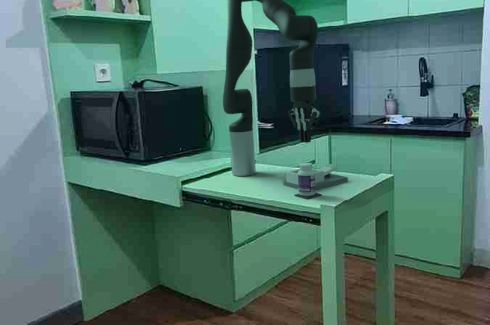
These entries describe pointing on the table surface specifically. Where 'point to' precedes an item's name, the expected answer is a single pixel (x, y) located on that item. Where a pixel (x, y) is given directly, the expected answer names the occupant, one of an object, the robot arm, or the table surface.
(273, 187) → the table surface
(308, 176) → the pill bottle
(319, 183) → the panel
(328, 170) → the rocker
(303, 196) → the pad
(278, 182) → the table surface
